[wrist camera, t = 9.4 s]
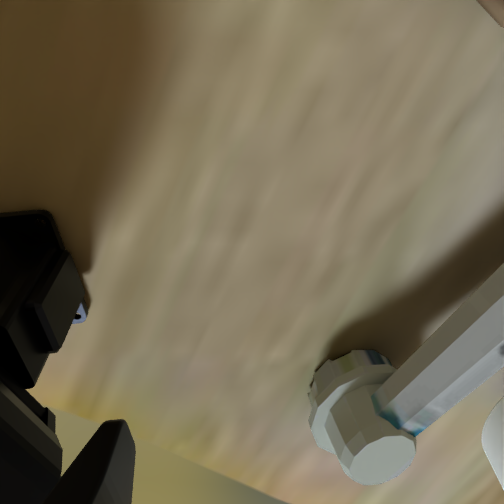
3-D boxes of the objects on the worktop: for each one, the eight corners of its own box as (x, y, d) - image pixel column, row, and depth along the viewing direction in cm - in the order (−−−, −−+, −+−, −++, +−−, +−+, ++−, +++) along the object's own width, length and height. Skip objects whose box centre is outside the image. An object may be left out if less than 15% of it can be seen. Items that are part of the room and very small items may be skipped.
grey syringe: (862, 130, 16) (384, 532, 24) (684, 102, 22) (346, 430, 30) (803, 34, 14) (307, 501, 22) (626, 31, 20) (283, 399, 28)
